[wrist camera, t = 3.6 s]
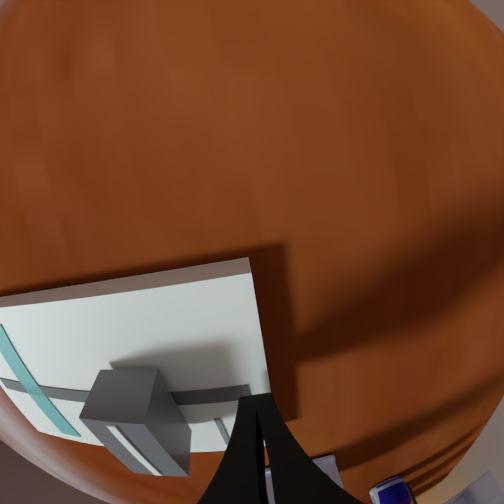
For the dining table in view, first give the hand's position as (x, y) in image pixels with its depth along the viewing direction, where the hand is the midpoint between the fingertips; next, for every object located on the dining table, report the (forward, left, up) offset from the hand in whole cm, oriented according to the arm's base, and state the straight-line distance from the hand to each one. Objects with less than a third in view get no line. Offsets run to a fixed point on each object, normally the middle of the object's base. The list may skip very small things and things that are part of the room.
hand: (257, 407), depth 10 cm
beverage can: (-16, +35, -3) cm, 39 cm away
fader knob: (+5, 0, -1) cm, 5 cm away
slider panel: (+9, 0, -3) cm, 10 cm away
